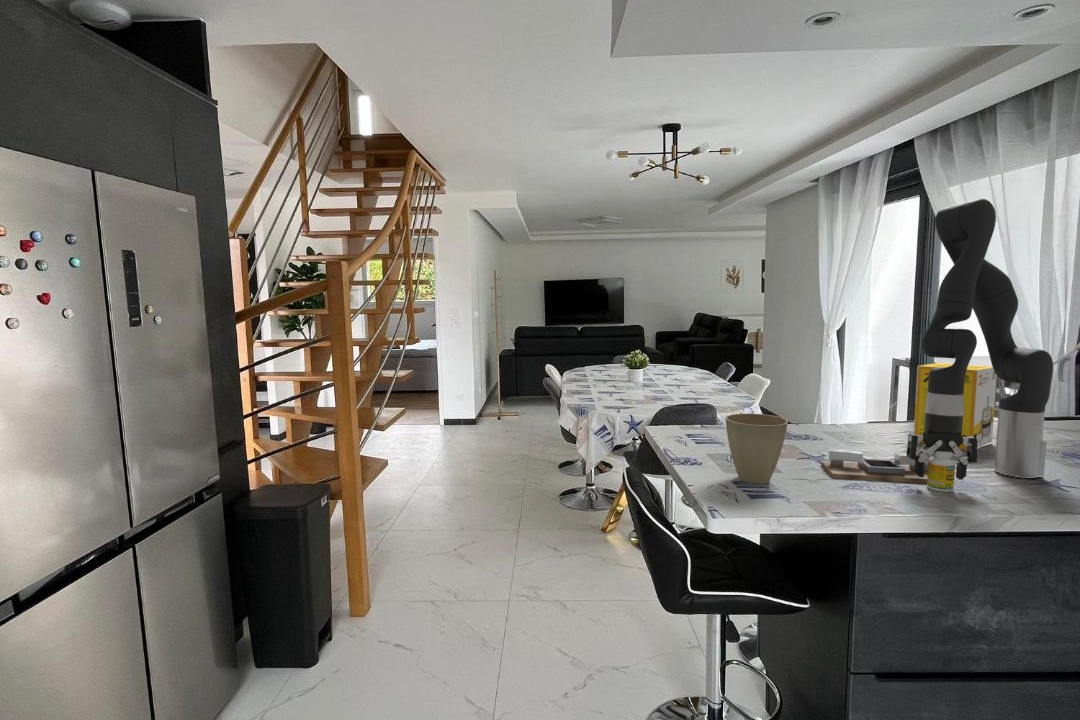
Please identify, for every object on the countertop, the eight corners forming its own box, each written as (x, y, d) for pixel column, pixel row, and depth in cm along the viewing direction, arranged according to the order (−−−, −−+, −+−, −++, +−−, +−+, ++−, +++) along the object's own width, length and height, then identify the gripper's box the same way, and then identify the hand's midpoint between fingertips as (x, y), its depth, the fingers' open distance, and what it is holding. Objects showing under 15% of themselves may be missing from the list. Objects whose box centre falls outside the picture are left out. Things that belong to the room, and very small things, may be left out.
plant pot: (711, 475, 151) (713, 415, 150) (756, 469, 156) (758, 411, 155) (750, 492, 137) (752, 426, 136) (799, 485, 142) (801, 422, 141)
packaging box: (934, 435, 197) (939, 362, 194) (991, 444, 183) (997, 366, 181) (913, 441, 188) (917, 365, 185) (971, 451, 174) (977, 370, 172)
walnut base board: (925, 471, 154) (926, 466, 154) (946, 484, 142) (946, 480, 142) (820, 465, 160) (821, 461, 159) (832, 478, 148) (832, 473, 148)
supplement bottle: (932, 484, 143) (935, 446, 142) (957, 489, 138) (960, 451, 137) (922, 488, 140) (924, 449, 139) (947, 494, 135) (950, 454, 134)
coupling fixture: (925, 468, 152) (926, 452, 152) (939, 477, 144) (941, 461, 143) (825, 463, 158) (826, 448, 157) (834, 471, 149) (834, 456, 149)
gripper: (970, 410, 139) (965, 475, 141) (904, 407, 142) (900, 471, 144) (986, 415, 132) (981, 484, 133) (917, 413, 135) (912, 480, 137)
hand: (939, 477), depth 139 cm, fingers open, 8 cm apart
